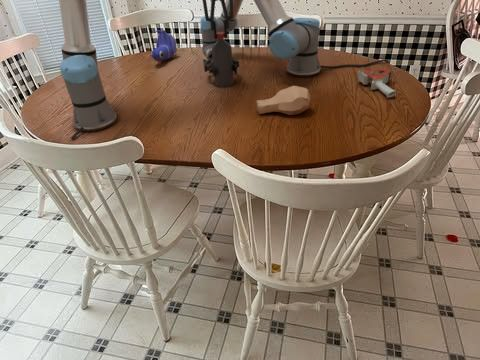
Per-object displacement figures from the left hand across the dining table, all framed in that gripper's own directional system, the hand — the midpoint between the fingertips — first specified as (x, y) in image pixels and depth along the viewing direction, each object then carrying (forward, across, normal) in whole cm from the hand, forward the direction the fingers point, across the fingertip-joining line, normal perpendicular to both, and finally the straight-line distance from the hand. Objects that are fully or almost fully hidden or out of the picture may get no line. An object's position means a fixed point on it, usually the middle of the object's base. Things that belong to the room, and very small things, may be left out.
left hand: (220, 37), depth 147 cm
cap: (-2, 0, 0) cm, 2 cm away
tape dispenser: (+20, -59, +26) cm, 67 cm away
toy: (+20, +26, -42) cm, 53 cm away
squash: (+20, -16, +36) cm, 44 cm away
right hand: (+13, 0, +5) cm, 14 cm away
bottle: (+20, 0, 0) cm, 20 cm away
